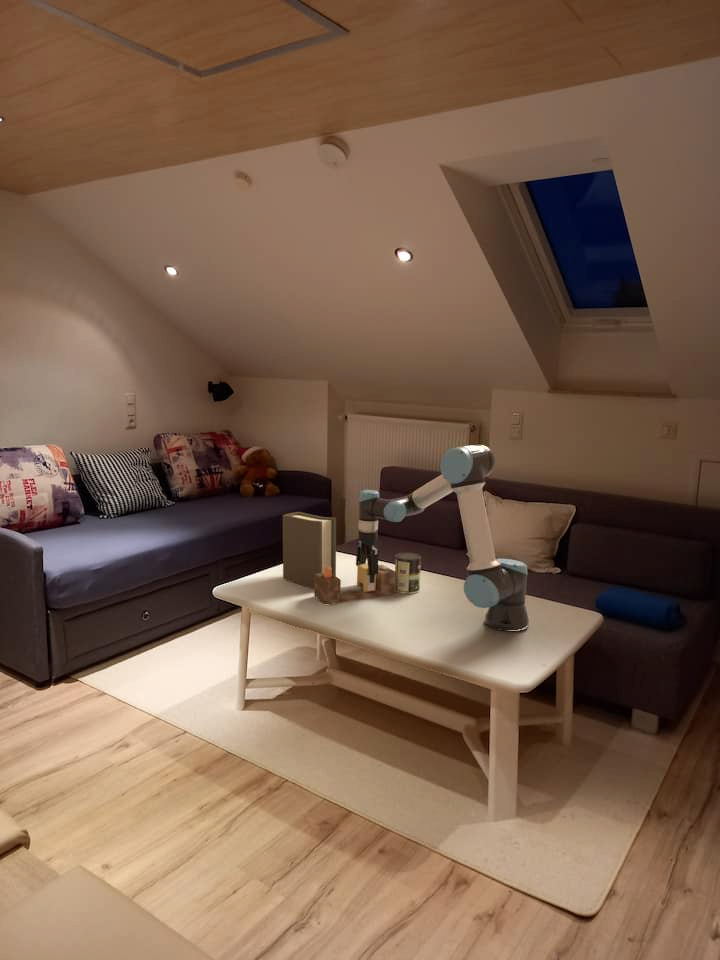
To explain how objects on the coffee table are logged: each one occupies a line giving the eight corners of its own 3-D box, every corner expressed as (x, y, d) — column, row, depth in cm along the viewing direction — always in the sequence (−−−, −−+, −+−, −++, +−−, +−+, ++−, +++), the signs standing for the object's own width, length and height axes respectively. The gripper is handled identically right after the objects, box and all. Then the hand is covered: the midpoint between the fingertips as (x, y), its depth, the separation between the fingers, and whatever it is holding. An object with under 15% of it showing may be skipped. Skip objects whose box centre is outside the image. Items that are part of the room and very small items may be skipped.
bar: (372, 587, 280) (372, 582, 280) (375, 589, 278) (375, 584, 278) (333, 593, 272) (334, 588, 272) (336, 595, 270) (336, 590, 270)
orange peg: (332, 583, 268) (333, 568, 267) (325, 584, 267) (325, 569, 265) (329, 581, 271) (329, 566, 269) (322, 582, 269) (322, 567, 268)
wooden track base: (381, 586, 287) (382, 563, 285) (394, 593, 278) (395, 570, 277) (314, 596, 273) (314, 572, 271) (325, 604, 264) (326, 580, 262)
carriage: (367, 585, 281) (368, 562, 280) (375, 590, 276) (376, 567, 274) (356, 587, 279) (357, 564, 277) (364, 592, 274) (365, 568, 272)
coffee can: (418, 586, 288) (420, 552, 286) (420, 594, 278) (422, 560, 276) (393, 585, 289) (394, 551, 286) (394, 593, 278) (395, 559, 276)
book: (281, 580, 292) (281, 513, 288) (298, 575, 299) (297, 510, 295) (319, 591, 278) (319, 521, 274) (335, 586, 285) (336, 517, 281)
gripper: (389, 535, 267) (386, 593, 271) (364, 523, 283) (362, 579, 287) (371, 537, 263) (369, 596, 268) (347, 525, 280) (346, 581, 284)
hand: (366, 587), depth 277 cm, fingers closed on carriage, 6 cm apart
